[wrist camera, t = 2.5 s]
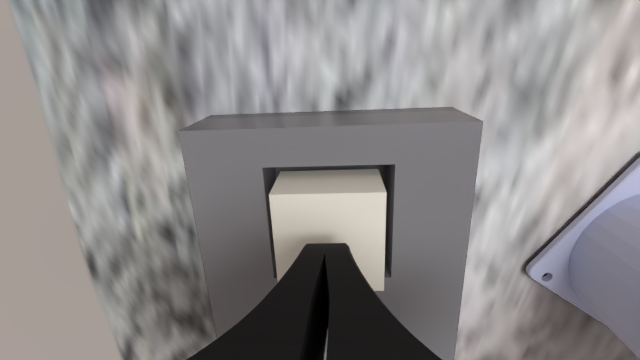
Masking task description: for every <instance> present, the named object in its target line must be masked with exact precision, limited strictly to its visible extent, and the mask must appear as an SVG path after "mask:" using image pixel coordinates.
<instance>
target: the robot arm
mask: <svg viewBox="0 0 640 360" xmlns="http://www.w3.org/2000/svg"><path fill="white" fill-rule="evenodd" d="M526 272H527V274H528V275H529V276H530V277H531V278H532V279H533V280H535V281H537V282H538V283H540V284H541V285H543V286H544V287H546V288H548V289H549V290H551V291H552V292H554V293H555V294H557V295H559V296H560V297H562V298H563V299H565V300H566V301H568V302H570V303H571V304H573V305H574V306H576V307H577V308H579V309H581V310H582V311H584V312H585V313H587V314H588V315H590V316H592V317H593V318H595V319H596V320H598V321H599V322H601V323H603V324H604V325H606V326H607V327H608V328H609V329H610V330H611V331H612V332H613V333H614V334H615V335H616V336H617V337H618V338H619V339H620V340H621V341H622V342H623V343H624V344H625V345H626V346H627V347H628V348H629V349H630V350H631V351H632V352H633V353H634V354H635V355H636V356H637V357H638V358H639V359H640V157H639V158H638V159H637V160H636V161H635V162H634V163H633V164H632V165H631V166H630V167H629V168H628V169H627V170H626V171H625V172H623V173H622V174H621V175H620V176H619V177H618V178H617V179H616V180H615V181H614V182H613V183H612V184H611V185H610V186H609V187H608V188H607V189H606V190H605V191H604V192H603V193H602V194H601V195H600V196H599V197H598V198H597V199H595V200H594V201H593V202H592V203H591V204H590V205H589V206H588V207H587V208H586V209H585V210H584V211H583V212H582V213H581V214H580V215H579V216H578V217H577V218H576V219H575V220H574V221H573V222H572V223H571V224H570V225H568V226H567V227H566V228H565V229H564V230H563V231H562V232H561V233H560V234H559V235H558V236H557V237H556V238H555V239H554V240H553V241H552V242H551V243H550V244H549V245H548V246H547V247H546V248H545V249H544V250H543V251H542V252H540V253H539V254H538V255H537V256H536V257H535V258H534V259H533V260H532V261H531V262H530V263H529V264H528V266H527V267H526ZM545 273H548V274H547V275H546V276H544V277H542V276H543V275H544V274H545ZM327 329H328V341H327V354H326V360H442V359H441V358H439V357H438V356H437V355H436V354H434V353H433V352H432V351H431V350H430V349H429V348H427V347H426V346H425V345H424V344H423V343H422V342H421V341H419V340H418V339H417V338H416V337H415V336H414V335H413V334H412V333H411V332H410V331H409V330H408V329H407V328H406V327H405V326H403V325H402V324H401V323H400V321H399V320H398V319H397V318H396V317H395V316H394V315H393V314H392V313H391V312H390V310H389V309H388V308H387V307H386V306H385V305H384V303H383V302H382V301H381V300H380V298H379V297H378V296H377V294H376V293H375V292H374V290H373V289H372V288H371V286H370V285H369V283H368V282H367V280H366V279H365V277H364V275H363V274H362V272H361V271H360V269H359V267H358V266H357V264H356V262H355V260H354V258H353V256H352V253H351V251H350V248H349V246H348V245H347V244H346V243H307V244H306V245H305V246H304V247H303V249H302V250H301V252H300V253H299V255H298V256H297V258H296V259H295V261H294V262H293V264H292V265H291V266H290V268H289V269H288V270H287V272H286V273H285V274H284V275H283V277H282V278H281V279H280V280H279V282H278V283H277V284H276V285H275V286H274V287H273V289H272V290H271V291H270V292H269V293H268V294H267V295H266V296H265V297H264V299H263V300H262V301H261V302H260V303H259V304H258V305H257V306H256V307H255V308H254V309H253V310H252V311H250V312H249V313H248V314H247V315H246V316H245V317H244V318H243V319H242V320H241V321H239V322H238V323H237V324H236V325H234V326H233V327H232V328H231V329H229V330H228V331H227V332H225V333H224V334H223V335H221V336H220V337H219V338H218V339H216V340H215V341H214V342H212V343H211V344H209V345H208V346H207V347H205V348H204V349H202V350H201V351H199V352H198V353H196V354H195V355H193V356H191V357H190V358H188V359H187V360H324V354H325V346H326V338H327Z"/></svg>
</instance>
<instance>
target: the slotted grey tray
mask: <svg viewBox="0 0 640 360" xmlns="http://www.w3.org/2000/svg"><path fill="white" fill-rule="evenodd" d="M482 127H483V121H481V120H479V119H477V118H475V117H472V116H470V115H468V114H466V113H464V112H462V111H459V110H457V109H455V108H453V107H439V108H410V109H381V110H352V111H323V112H294V113H266V114H237V115H211V116H209V117H207V118H205V119H202V120H200V121H198V122H196V123H194V124H192V125H190V126H188V127H186V128H184V129H182V130H180V131H178V133H179V138H180V143H181V149H182V154H183V160H184V165H185V170H186V176H187V181H188V186H189V192H190V197H191V202H192V208H193V213H194V219H195V224H196V229H197V235H198V240H199V245H200V251H201V256H202V261H203V267H204V272H205V278H206V283H207V288H208V294H209V299H210V304H211V310H212V315H213V320H214V326H215V331H216V337H217V339H218V338H219V337H220V336H221V335H223V334H224V333H225V332H227V331H228V330H229V329H231V328H232V327H233V326H234V325H236V324H237V323H238V322H239V321H241V320H242V319H243V318H244V317H245V316H246V315H247V314H248V313H249V312H250V311H252V310H253V309H254V308H255V307H256V306H257V305H258V304H259V303H260V302H261V301H262V300H263V299H264V297H265V296H266V295H267V294H268V293H269V292H270V291H271V290H272V289H273V287H274V286H275V285H276V284H277V283H278V280H277V270H276V261H275V251H274V241H273V231H272V221H271V211H270V201H269V193H270V191H271V189H272V187H273V185H274V183H275V181H276V179H277V177H278V175H279V173H280V171H317V170H358V169H378V170H379V172H380V175H381V178H382V181H383V184H384V186H385V189H386V192H387V196H386V233H385V270H384V291H374V292H375V293H376V294H377V296H378V297H379V298H380V300H381V301H382V302H383V303H384V305H385V306H386V307H387V308H388V309H389V310H390V312H391V313H392V314H393V315H394V316H395V317H396V318H397V319H398V320H399V321H400V323H401V324H402V325H403V326H405V327H406V328H407V329H408V330H409V331H410V332H411V333H412V334H413V335H414V336H415V337H416V338H417V339H418V340H419V341H421V342H422V343H423V344H424V345H425V346H426V347H427V348H429V349H430V350H431V351H432V352H433V353H434V354H436V355H437V356H438V357H439V358H441V359H442V360H454V356H455V347H456V339H457V331H458V323H459V315H460V306H461V298H462V290H463V282H464V274H465V266H466V257H467V249H468V241H469V233H470V225H471V217H472V208H473V200H474V192H475V184H476V176H477V168H478V159H479V151H480V143H481V135H482Z"/></svg>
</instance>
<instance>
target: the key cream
mask: <svg viewBox="0 0 640 360" xmlns="http://www.w3.org/2000/svg"><path fill="white" fill-rule="evenodd" d="M386 196H387V192H386V189H385V186H384V184H383V181H382V178H381V175H380V172H379V170H378V169H358V170H317V171H280V173H279V175H278V177H277V179H276V181H275V183H274V185H273V187H272V189H271V191H270V193H269V201H270V211H271V221H272V231H273V241H274V251H275V261H276V270H277V280H278V282H279V280H280V279H281V278H282V277H283V275H284V274H285V273H286V272H287V270H288V269H289V268H290V266H291V265H292V264H293V262H294V261H295V259H296V258H297V256H298V255H299V253H300V252H301V250H302V249H303V247H304V246H305V245H306V244H307V243H346V244H347V245H348V246H349V248H350V251H351V253H352V256H353V258H354V260H355V262H356V264H357V266H358V267H359V269H360V271H361V272H362V274H363V275H364V277H365V279H366V280H367V282H368V283H369V285H370V286H371V288H372V289H373V290H374V291H384V270H385V233H386Z"/></svg>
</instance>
